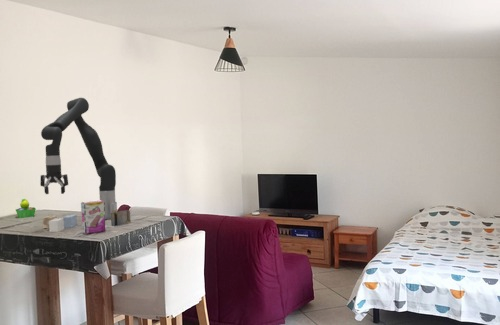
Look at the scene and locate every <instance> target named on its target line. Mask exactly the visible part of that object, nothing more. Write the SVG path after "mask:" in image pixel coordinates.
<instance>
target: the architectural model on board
mask: <svg viewBox="0 0 500 325" xmlns="http://www.w3.org/2000/svg"><path fill="white" fill-rule="evenodd" d="M110 220H111V221H110V224H111V226H112V227H116V226H122V225H127V224H131V210H129V209H125V210H120V211H118V209H117V210H113V211H112V213H111V219H110Z"/></svg>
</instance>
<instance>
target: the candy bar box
mask: <svg viewBox="0 0 500 325" xmlns="http://www.w3.org/2000/svg"><path fill="white" fill-rule="evenodd" d="M80 208H81V210H80V211H81V233H82V234H83V235H88V234H95V233H101V232H106V219H105V203H104V201H101V200H100V199H99V200H92V201H91V200H90V201H81V202H80Z"/></svg>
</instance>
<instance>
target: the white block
mask: <svg viewBox="0 0 500 325" xmlns="http://www.w3.org/2000/svg"><path fill="white" fill-rule="evenodd" d="M64 229H65V228H64V220H63V217H62V218H61V217H59V218H58V217H57V218H55V219H53V220H51V221H49V229H48V230H49V231H48V232H49V233H58V232H60V231H63V230H64Z"/></svg>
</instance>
